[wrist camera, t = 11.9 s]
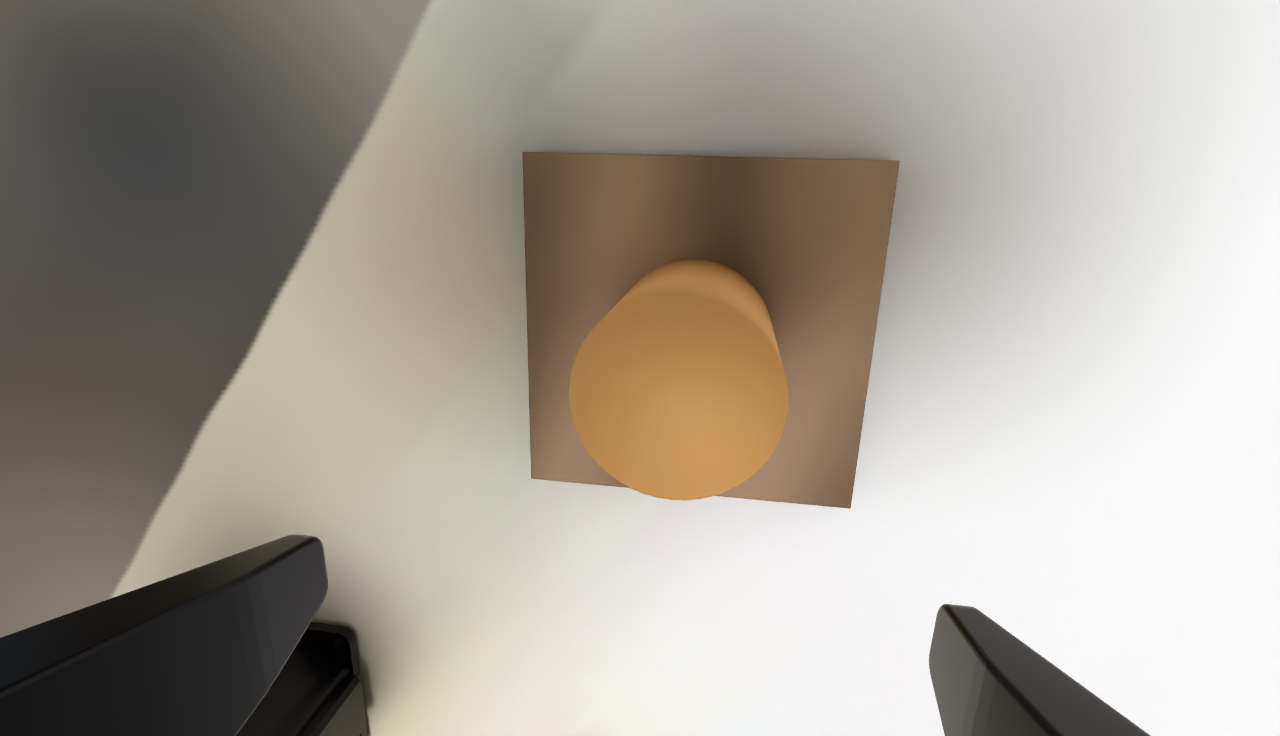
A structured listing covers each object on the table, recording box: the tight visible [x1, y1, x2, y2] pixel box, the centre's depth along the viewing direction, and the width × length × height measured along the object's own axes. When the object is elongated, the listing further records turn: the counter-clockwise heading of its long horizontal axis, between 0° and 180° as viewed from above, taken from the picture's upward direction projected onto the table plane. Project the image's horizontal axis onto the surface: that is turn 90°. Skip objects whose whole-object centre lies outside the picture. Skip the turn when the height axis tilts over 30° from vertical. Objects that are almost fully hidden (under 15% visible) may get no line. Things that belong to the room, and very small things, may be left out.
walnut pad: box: [523, 152, 899, 508], centre depth 20 cm, size 11×11×1 cm
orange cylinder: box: [569, 259, 788, 500], centre depth 17 cm, size 5×5×6 cm
